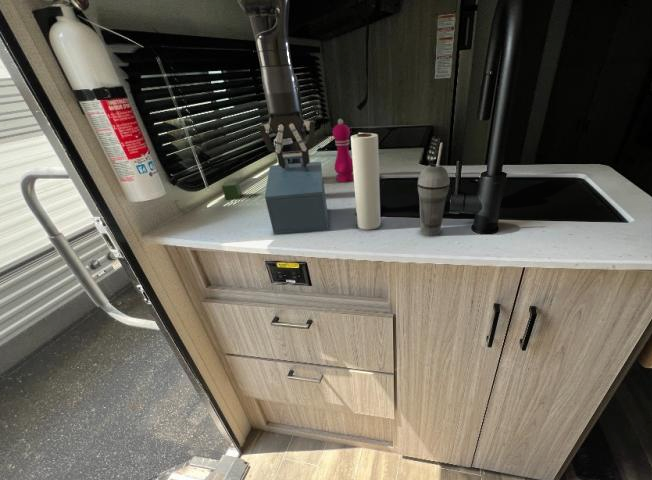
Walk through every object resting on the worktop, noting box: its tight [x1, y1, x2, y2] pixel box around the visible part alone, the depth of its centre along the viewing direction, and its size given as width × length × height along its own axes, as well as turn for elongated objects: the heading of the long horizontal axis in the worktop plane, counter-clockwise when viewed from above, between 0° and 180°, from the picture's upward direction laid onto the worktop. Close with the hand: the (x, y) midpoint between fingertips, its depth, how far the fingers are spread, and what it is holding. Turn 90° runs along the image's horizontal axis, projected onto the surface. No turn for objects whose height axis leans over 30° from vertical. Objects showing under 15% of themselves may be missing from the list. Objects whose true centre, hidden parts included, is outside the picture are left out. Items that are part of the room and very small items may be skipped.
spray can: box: [273, 136, 296, 165], centre depth 99 cm, size 6×6×20 cm
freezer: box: [265, 178, 329, 235], centre depth 85 cm, size 15×14×9 cm
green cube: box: [221, 180, 243, 200], centre depth 108 cm, size 4×4×4 cm
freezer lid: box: [264, 150, 323, 201], centre depth 80 cm, size 16×14×5 cm
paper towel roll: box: [350, 132, 382, 231], centre depth 77 cm, size 7×6×21 cm
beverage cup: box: [416, 142, 451, 237], centre depth 72 cm, size 7×7×20 cm
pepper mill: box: [332, 118, 354, 183], centre depth 113 cm, size 7×7×20 cm
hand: (294, 166), depth 84 cm, fingers closed on freezer lid, 5 cm apart
